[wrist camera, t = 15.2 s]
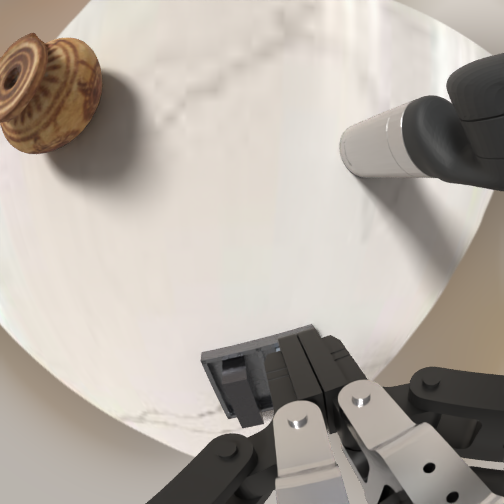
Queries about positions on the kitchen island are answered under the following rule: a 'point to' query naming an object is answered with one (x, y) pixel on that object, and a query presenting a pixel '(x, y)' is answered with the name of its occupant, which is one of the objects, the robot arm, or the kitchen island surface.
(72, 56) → the clay pot
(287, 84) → the kitchen island surface
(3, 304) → the kitchen island surface
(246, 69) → the kitchen island surface
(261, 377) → the dark grey tray
